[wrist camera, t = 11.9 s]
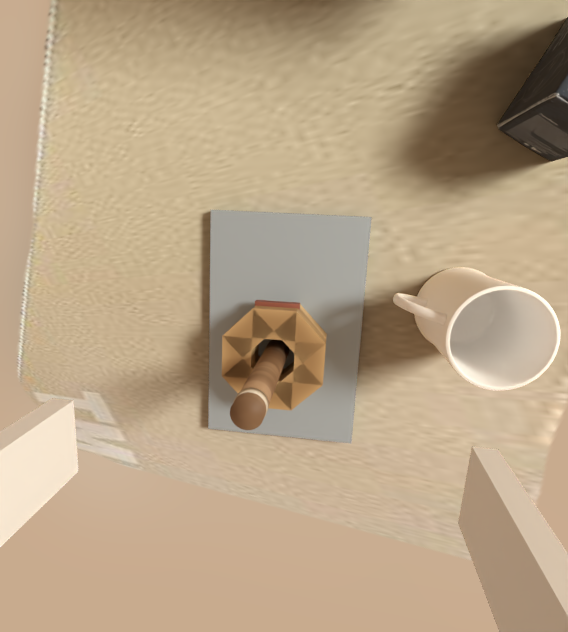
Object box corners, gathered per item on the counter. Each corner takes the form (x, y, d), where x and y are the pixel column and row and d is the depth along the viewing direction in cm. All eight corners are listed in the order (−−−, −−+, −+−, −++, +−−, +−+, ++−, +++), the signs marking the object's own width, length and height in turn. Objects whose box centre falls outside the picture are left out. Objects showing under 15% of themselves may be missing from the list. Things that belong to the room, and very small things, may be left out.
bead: (233, 295, 44) (222, 302, 40) (328, 301, 43) (328, 309, 39) (230, 392, 46) (221, 407, 42) (321, 400, 45) (320, 417, 41)
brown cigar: (266, 336, 45) (229, 395, 29) (290, 338, 44) (265, 399, 29) (265, 359, 45) (228, 429, 30) (289, 361, 45) (263, 432, 29)
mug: (370, 318, 44) (383, 351, 32) (406, 241, 42) (432, 247, 30) (476, 362, 44) (527, 411, 32) (517, 286, 42) (587, 309, 30)
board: (213, 210, 44) (210, 209, 43) (370, 217, 42) (371, 217, 41) (211, 423, 49) (208, 428, 48) (350, 438, 47) (351, 443, 46)
